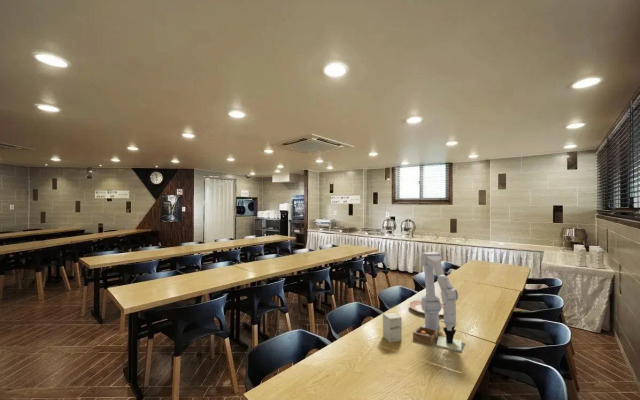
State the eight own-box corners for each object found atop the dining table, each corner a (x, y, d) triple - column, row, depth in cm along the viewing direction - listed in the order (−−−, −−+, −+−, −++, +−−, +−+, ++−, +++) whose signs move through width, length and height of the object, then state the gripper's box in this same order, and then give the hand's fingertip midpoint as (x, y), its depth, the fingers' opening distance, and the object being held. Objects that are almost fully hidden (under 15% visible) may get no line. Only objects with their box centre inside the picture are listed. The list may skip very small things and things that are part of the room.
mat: (441, 337, 147) (441, 336, 147) (465, 344, 140) (465, 343, 140) (434, 346, 138) (434, 345, 138) (460, 354, 130) (460, 353, 131)
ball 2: (425, 338, 146) (425, 332, 146) (431, 340, 144) (431, 334, 144) (423, 340, 143) (423, 334, 143) (429, 342, 141) (429, 336, 142)
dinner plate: (443, 304, 199) (443, 300, 199) (459, 319, 172) (458, 314, 172) (405, 303, 202) (405, 299, 202) (414, 318, 175) (414, 313, 175)
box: (419, 333, 153) (419, 326, 153) (438, 338, 146) (438, 330, 147) (412, 339, 145) (412, 332, 145) (432, 345, 139) (432, 337, 139)
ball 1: (421, 334, 150) (421, 329, 150) (427, 336, 148) (427, 330, 148) (419, 336, 148) (419, 331, 148) (425, 338, 146) (425, 332, 146)
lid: (438, 337, 147) (438, 329, 147) (461, 342, 141) (461, 333, 142) (436, 346, 137) (436, 337, 137) (461, 351, 132) (461, 342, 132)
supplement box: (389, 343, 141) (389, 318, 142) (382, 337, 148) (382, 313, 149) (402, 341, 143) (401, 317, 144) (394, 335, 150) (394, 312, 151)
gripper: (442, 306, 148) (442, 332, 147) (440, 316, 135) (440, 343, 134) (456, 308, 145) (457, 335, 144) (456, 318, 132) (456, 347, 131)
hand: (450, 339), depth 139 cm, fingers open, 7 cm apart
